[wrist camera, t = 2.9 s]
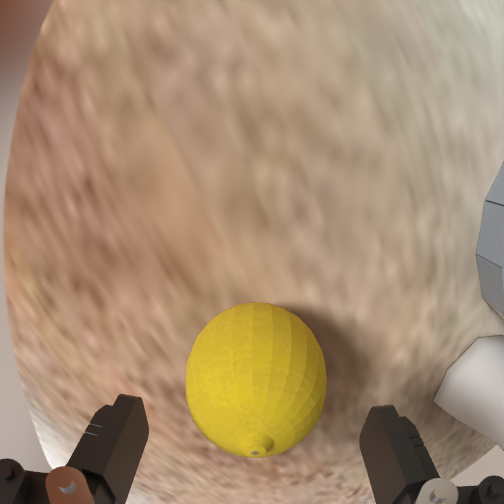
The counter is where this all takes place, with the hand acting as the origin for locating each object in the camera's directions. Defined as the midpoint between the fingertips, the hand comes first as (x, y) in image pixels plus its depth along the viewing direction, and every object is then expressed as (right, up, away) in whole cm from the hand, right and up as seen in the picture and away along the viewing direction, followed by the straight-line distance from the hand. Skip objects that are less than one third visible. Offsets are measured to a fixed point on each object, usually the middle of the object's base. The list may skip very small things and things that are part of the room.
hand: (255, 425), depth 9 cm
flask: (+16, -3, +8) cm, 18 cm away
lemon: (0, +2, +6) cm, 7 cm away
